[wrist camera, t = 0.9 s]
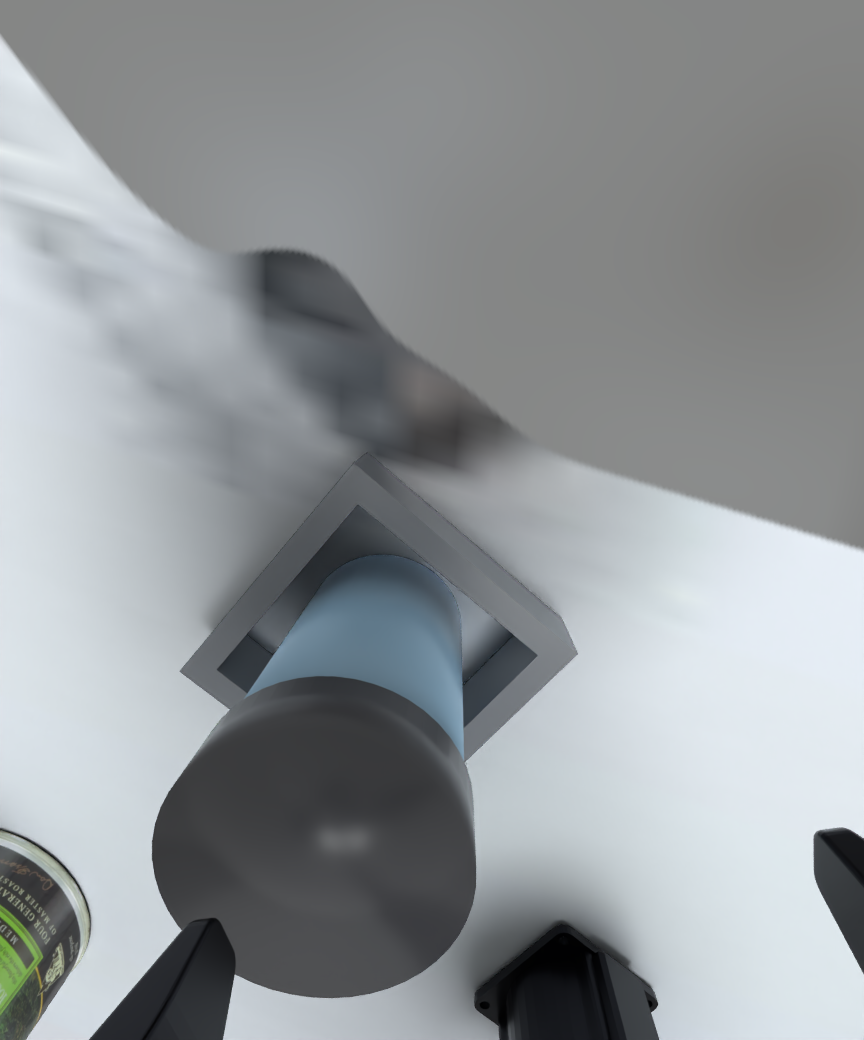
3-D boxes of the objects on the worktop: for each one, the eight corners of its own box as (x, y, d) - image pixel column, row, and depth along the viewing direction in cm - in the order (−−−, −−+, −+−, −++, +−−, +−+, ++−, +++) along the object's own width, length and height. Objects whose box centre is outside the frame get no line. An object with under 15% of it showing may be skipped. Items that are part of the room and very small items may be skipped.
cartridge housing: (399, 779, 25) (392, 831, 22) (213, 636, 24) (179, 671, 21) (562, 619, 23) (578, 653, 20) (367, 452, 21) (353, 462, 19)
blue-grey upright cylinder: (394, 728, 24) (337, 1045, 13) (272, 633, 23) (91, 877, 12) (499, 622, 23) (545, 867, 11) (374, 516, 22) (282, 662, 10)
